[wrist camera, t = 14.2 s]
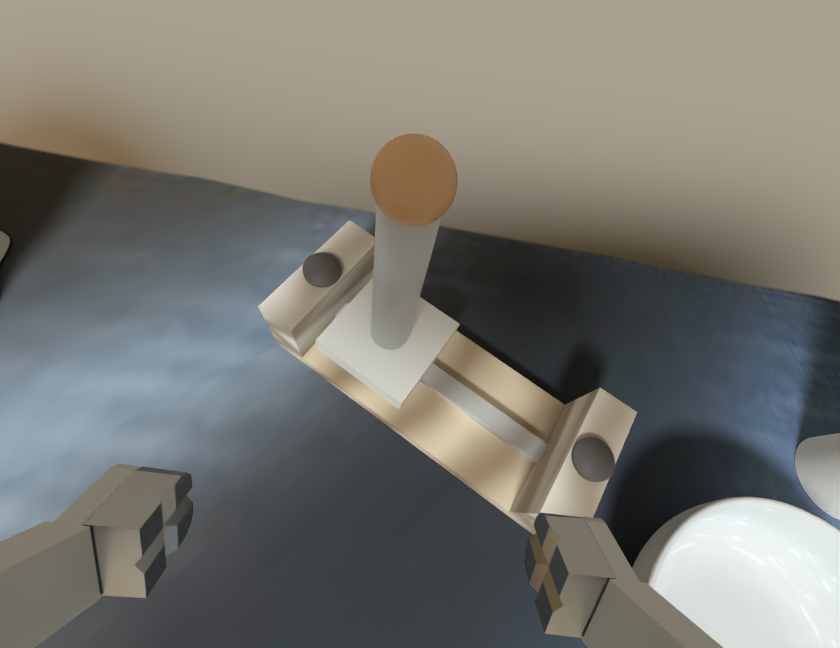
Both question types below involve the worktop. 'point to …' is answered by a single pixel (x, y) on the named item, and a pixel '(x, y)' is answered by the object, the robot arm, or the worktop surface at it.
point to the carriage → (398, 274)
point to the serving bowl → (749, 573)
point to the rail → (462, 400)
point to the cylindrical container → (820, 471)
